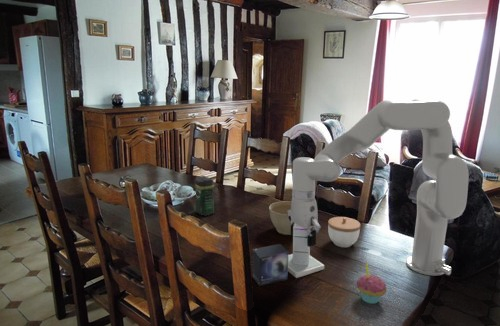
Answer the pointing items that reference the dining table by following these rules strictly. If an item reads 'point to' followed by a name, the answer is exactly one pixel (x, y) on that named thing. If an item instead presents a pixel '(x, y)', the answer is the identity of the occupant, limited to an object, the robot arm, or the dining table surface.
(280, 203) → the planter bowl
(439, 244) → the robot arm
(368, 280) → the cupcake
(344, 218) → the lidded bowl
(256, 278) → the small box
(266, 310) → the dining table surface
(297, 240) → the syrup box
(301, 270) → the plate
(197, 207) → the coffee jar
